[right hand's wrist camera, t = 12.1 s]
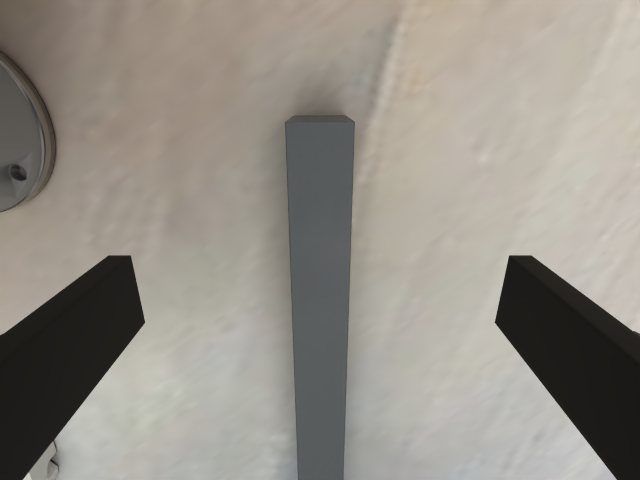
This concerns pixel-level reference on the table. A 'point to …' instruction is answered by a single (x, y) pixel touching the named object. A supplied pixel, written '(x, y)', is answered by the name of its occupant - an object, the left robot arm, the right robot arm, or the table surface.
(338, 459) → the bar
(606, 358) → the right robot arm
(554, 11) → the table surface
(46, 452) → the ashtray
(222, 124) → the table surface
